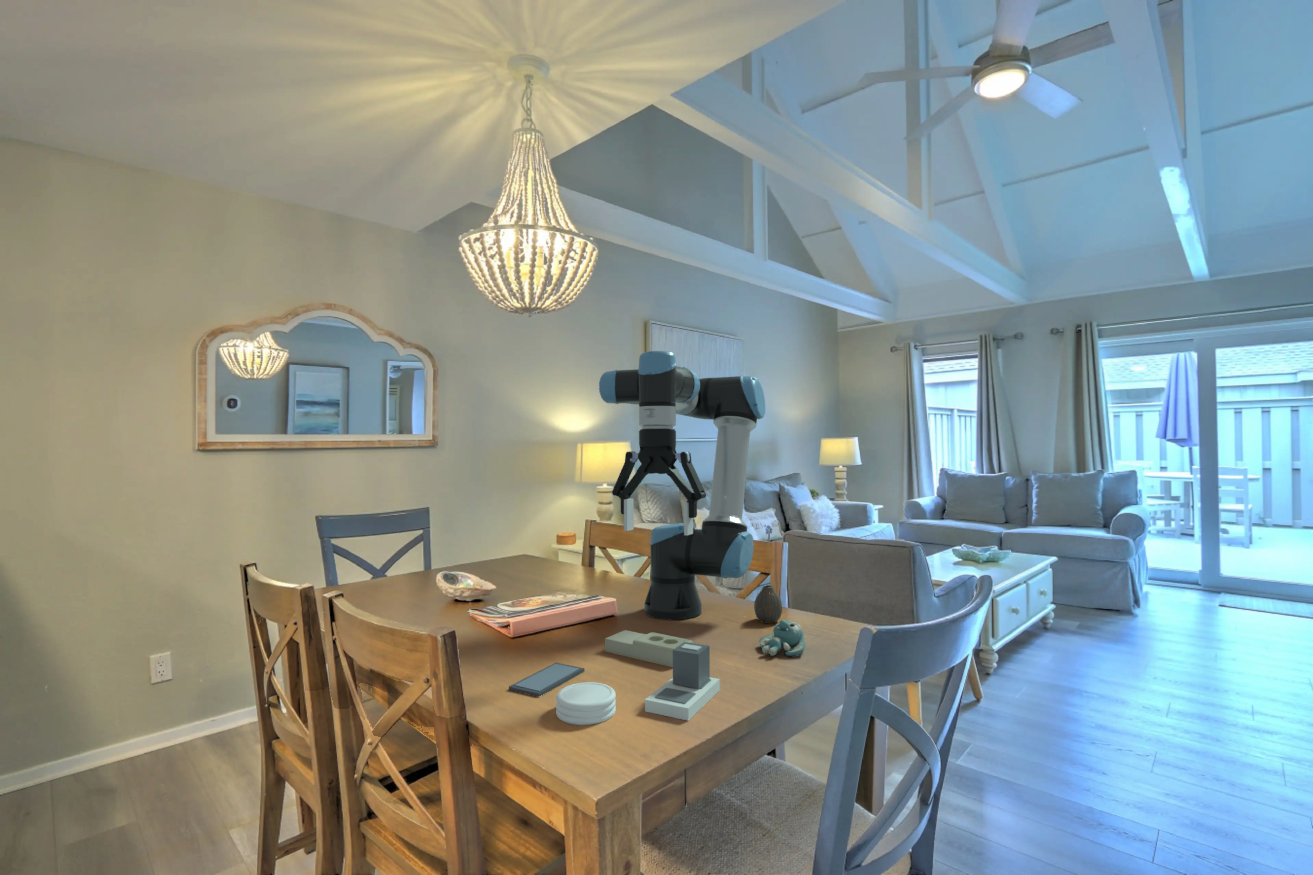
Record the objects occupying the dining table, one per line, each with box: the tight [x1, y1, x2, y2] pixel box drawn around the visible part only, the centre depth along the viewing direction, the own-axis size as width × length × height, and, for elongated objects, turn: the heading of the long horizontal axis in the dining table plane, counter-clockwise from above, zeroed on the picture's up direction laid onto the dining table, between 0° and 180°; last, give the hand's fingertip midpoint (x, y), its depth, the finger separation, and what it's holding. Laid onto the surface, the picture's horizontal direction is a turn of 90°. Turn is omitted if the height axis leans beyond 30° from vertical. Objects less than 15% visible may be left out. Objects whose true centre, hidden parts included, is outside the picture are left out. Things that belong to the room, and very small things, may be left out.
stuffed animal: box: [758, 619, 806, 657], centre depth 136 cm, size 11×7×12 cm
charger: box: [672, 642, 711, 689], centre depth 113 cm, size 5×5×6 cm
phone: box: [508, 662, 585, 697], centre depth 120 cm, size 14×7×1 cm, turn 152°
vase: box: [753, 584, 783, 624], centre depth 158 cm, size 7×7×9 cm
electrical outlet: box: [604, 630, 694, 668], centre depth 134 cm, size 7×4×18 cm
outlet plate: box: [644, 676, 721, 722], centre depth 110 cm, size 14×8×2 cm, turn 153°
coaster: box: [555, 681, 617, 726], centre depth 106 cm, size 10×10×4 cm
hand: (658, 532), depth 128 cm, fingers open, 13 cm apart
